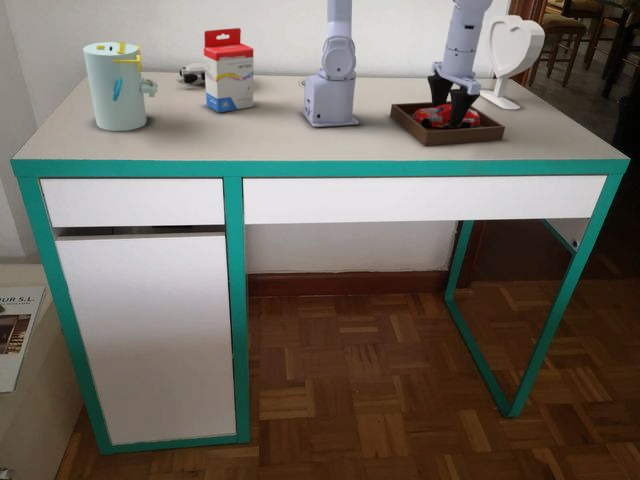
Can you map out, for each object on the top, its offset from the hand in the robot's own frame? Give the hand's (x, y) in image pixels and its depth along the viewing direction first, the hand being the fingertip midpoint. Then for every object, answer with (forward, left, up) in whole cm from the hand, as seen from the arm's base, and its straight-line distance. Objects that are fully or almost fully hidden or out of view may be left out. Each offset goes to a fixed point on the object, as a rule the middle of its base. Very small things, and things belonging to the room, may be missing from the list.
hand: (446, 118), depth 103 cm
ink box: (-40, +18, -2) cm, 44 cm away
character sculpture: (-60, +13, -2) cm, 61 cm away
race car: (0, 0, -2) cm, 2 cm away
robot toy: (-41, +33, -2) cm, 53 cm away
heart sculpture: (+23, +14, -2) cm, 27 cm away
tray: (0, 0, -2) cm, 2 cm away
